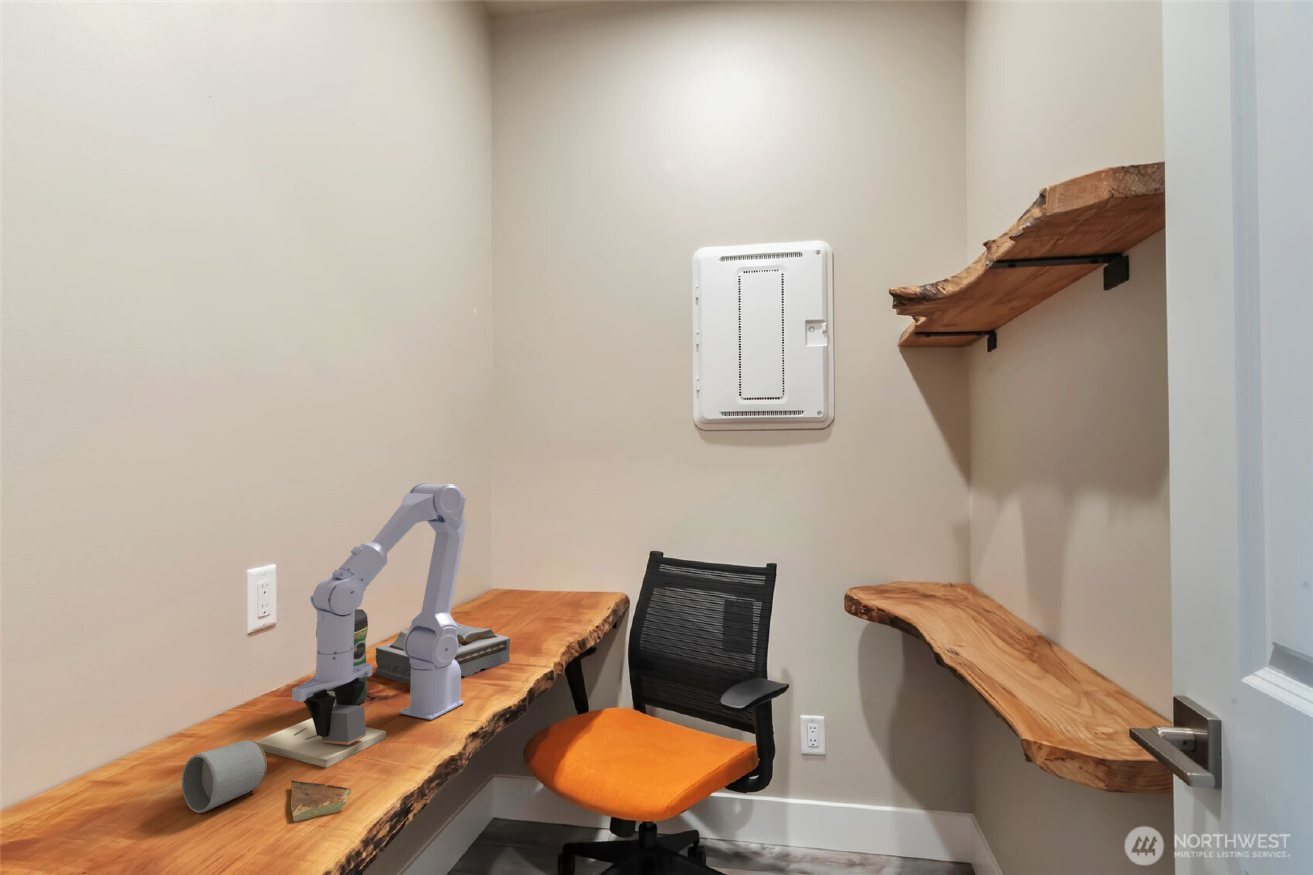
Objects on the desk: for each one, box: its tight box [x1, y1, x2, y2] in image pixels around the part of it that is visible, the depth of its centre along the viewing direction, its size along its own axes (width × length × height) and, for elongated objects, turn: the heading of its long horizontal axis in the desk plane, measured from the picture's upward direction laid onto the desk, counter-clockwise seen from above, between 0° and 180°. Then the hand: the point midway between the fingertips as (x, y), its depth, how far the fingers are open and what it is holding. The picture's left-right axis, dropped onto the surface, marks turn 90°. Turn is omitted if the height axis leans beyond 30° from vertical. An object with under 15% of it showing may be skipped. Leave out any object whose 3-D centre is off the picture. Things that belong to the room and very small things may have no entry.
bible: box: [375, 621, 511, 686], centre depth 152 cm, size 23×27×10 cm
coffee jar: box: [315, 608, 369, 707], centre depth 128 cm, size 10×8×19 cm
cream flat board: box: [255, 717, 387, 768], centre depth 110 cm, size 12×17×1 cm
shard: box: [290, 780, 352, 823], centre depth 92 cm, size 11×8×2 cm
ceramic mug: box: [181, 739, 268, 814], centre depth 93 cm, size 11×8×8 cm
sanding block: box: [322, 705, 366, 745], centre depth 108 cm, size 4×6×5 cm, turn 67°
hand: (333, 730), depth 109 cm, fingers closed on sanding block, 4 cm apart
